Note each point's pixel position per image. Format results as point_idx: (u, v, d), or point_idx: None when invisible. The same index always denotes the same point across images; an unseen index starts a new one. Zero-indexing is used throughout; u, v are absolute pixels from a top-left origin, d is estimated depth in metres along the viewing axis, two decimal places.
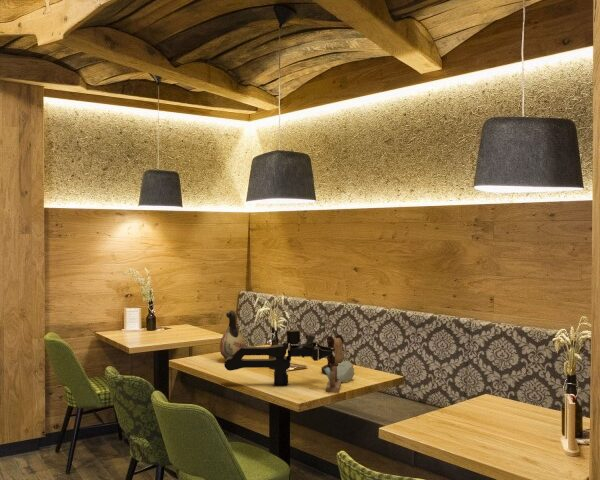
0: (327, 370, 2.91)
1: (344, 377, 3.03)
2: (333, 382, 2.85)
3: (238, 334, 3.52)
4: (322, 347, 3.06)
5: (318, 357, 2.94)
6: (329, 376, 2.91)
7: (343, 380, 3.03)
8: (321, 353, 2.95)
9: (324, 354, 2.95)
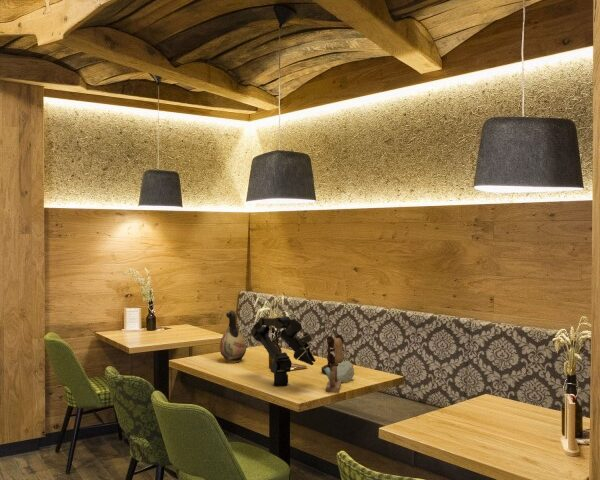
0: (327, 370, 2.91)
1: (344, 377, 3.03)
2: (333, 382, 2.85)
3: (238, 334, 3.52)
4: (309, 353, 2.98)
5: (299, 357, 2.88)
6: (329, 376, 2.91)
7: (343, 380, 3.03)
8: (304, 357, 2.88)
9: (306, 360, 2.88)
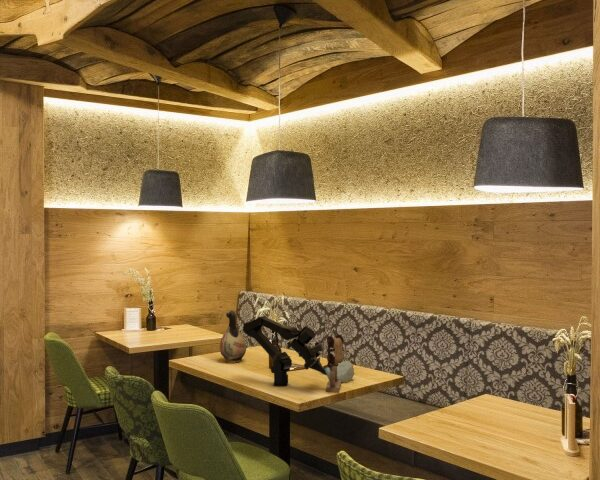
0: (327, 370, 2.91)
1: (344, 377, 3.03)
2: (333, 382, 2.85)
3: (238, 334, 3.52)
4: None
5: (311, 365, 2.91)
6: (329, 376, 2.91)
7: (343, 380, 3.03)
8: (316, 365, 2.91)
9: (318, 368, 2.91)
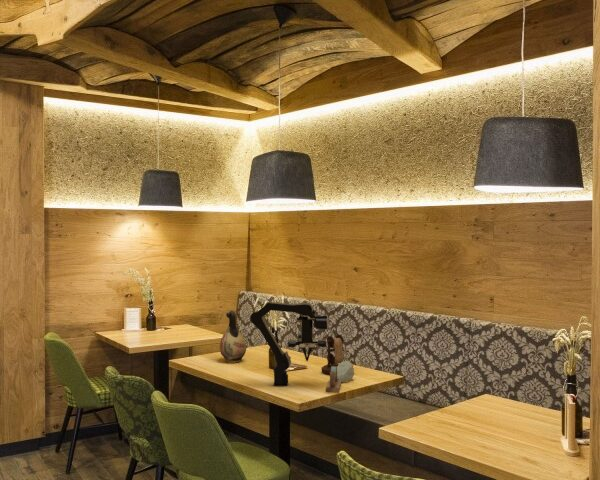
0: (333, 369, 2.90)
1: (344, 377, 3.03)
2: (333, 382, 2.85)
3: (238, 334, 3.52)
4: None
5: (311, 347, 2.97)
6: None
7: (343, 380, 3.03)
8: None
9: None
